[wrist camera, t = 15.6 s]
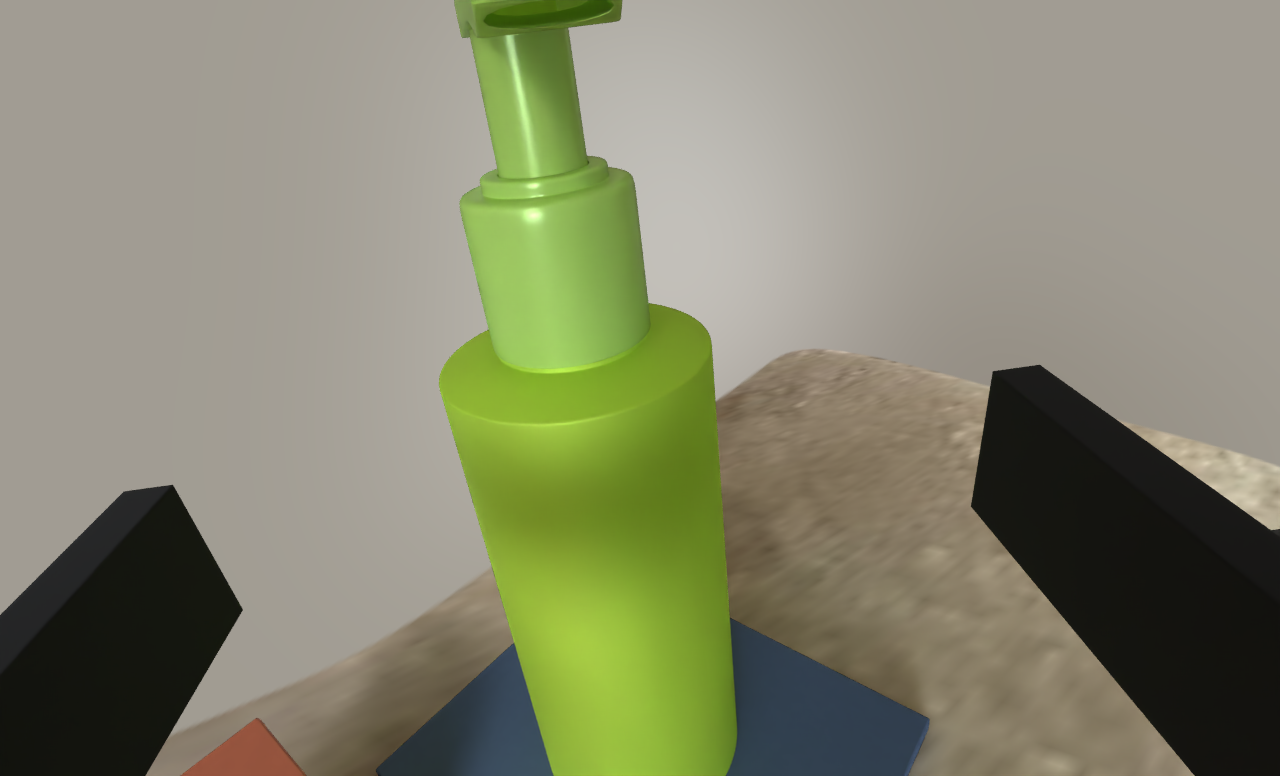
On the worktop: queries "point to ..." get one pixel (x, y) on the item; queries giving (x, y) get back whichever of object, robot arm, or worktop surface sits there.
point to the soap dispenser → (588, 429)
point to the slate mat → (765, 712)
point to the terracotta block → (248, 756)
